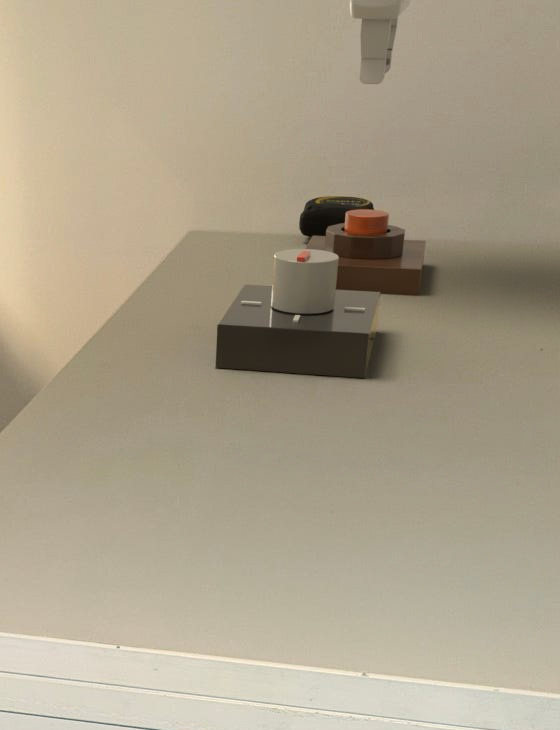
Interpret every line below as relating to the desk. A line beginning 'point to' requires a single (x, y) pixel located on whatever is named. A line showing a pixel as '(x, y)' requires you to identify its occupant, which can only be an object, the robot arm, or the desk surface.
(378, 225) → the power button
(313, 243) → the switch block
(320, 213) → the tape measure
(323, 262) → the hob knob
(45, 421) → the desk surface
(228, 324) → the knob base
